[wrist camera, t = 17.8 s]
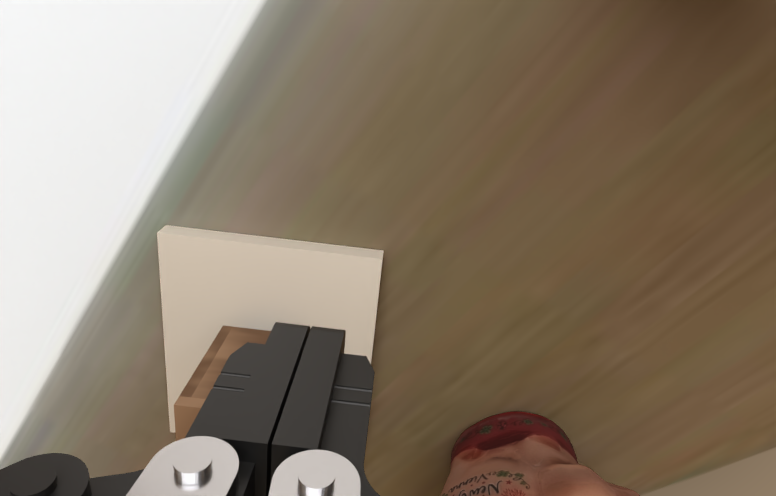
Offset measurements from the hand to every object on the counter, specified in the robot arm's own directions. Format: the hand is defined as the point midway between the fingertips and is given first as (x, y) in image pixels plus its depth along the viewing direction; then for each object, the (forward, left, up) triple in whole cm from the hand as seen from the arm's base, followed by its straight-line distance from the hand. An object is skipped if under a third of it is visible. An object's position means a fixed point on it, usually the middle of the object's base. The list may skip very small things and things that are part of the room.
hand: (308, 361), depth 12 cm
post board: (+7, +18, -27) cm, 33 cm away
